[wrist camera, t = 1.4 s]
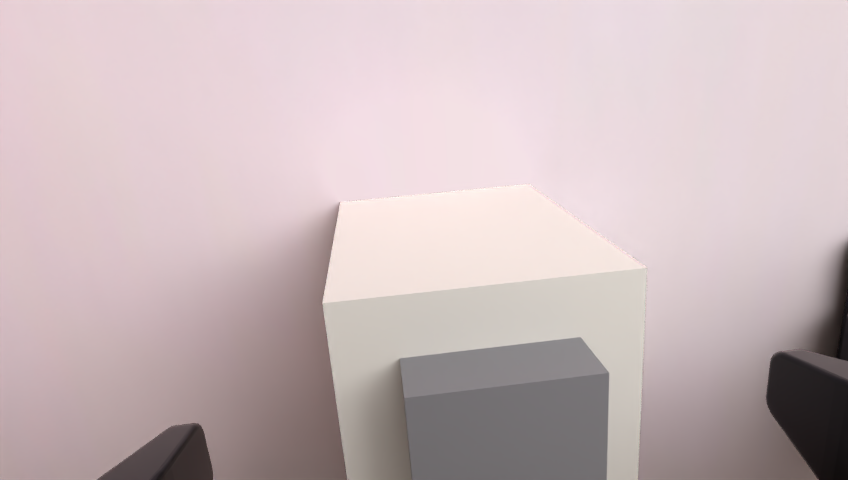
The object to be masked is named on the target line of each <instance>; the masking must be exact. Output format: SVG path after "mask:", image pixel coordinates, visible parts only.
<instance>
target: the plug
mask: <svg viewBox="0 0 848 480" xmlns="http://www.w3.org/2000/svg"><path fill="white" fill-rule="evenodd" d="M646 286H647V267H646V266H644V265H643V264H641V263H640V262H639V261H637V260H636V259H634V258H633V257H631V256H630V255H629V254H627V253H626V252H624V251H623V250H622V249H620V248H619V247H617V246H616V245H615V244H613V243H612V242H610V241H609V240H607V239H606V238H605V237H603V236H602V235H600V234H599V233H598V232H596V231H595V230H593V229H592V228H591V227H589V226H588V225H586V224H585V223H584V222H582V221H581V220H579V219H578V218H576V217H575V216H574V215H572V214H571V213H569V212H568V211H567V210H565V209H564V208H562V207H561V206H560V205H558V204H557V203H555V202H554V201H552V200H551V199H550V198H548V197H547V196H545V195H544V194H543V193H541V192H540V191H538V190H537V189H536V188H534V187H533V186H531V185H530V184H521V185H511V186H501V187H490V188H480V189H470V190H459V191H449V192H439V193H428V194H418V195H408V196H398V197H387V198H377V199H367V200H356V201H346V202H340V206H339V212H338V218H337V223H336V229H335V235H334V240H333V246H332V251H331V257H330V263H329V268H328V274H327V280H326V285H325V291H324V297H323V302H322V305H323V312H324V319H325V326H326V333H327V340H328V347H329V355H330V362H331V369H332V376H333V383H334V390H335V397H336V404H337V411H338V419H339V426H340V433H341V440H342V447H343V454H344V461H345V468H346V475H347V480H638V468H639V446H640V423H641V400H642V377H643V355H644V332H645V309H646Z"/></svg>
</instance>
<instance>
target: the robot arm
mask: <svg viewBox="0 0 848 480" xmlns="http://www.w3.org/2000/svg"><path fill="white" fill-rule="evenodd" d="M766 400H767V405H768V408H769V410H770V412H771V414H772V415H773V417H774V418H775V420H776V421H777V422H778V424H779V425H780V427H781V428H782V429H783V431H784V432H785V433H786V435H787V436H788V438H789V439H790V440H791V442H792V443H793V445H794V446H795V447H796V449H797V450H798V452H799V453H800V454H801V456H802V457H803V459H804V460H805V461H806V463H807V464H808V466H809V467H810V468H811V470H812V471H813V473H814V474H815V475H816V477H817V478H818V480H848V290H847V296H846V302H845V308H844V315H843V321H842V327H841V333H840V340H839V346H838V352H837V358H833V357H830V356H826V355H822V354H818V353H814V352H811V351H807V350H802V349H795V350H787V351H780V352H777V353H775V354H774V355H773V356H772V358H771V361H770V368H769V377H768V385H767V394H766ZM97 480H213V471H212V465H211V461H210V456H209V452H208V448H207V443H206V439H205V434H204V431H203V429H202V427H201V425H199V424H198V423H192V424H183V425H175V426H171V427H169V428H168V429H167V430H165V431H164V432H162V433H161V434H160V435H158V436H157V437H155V438H154V439H153V440H151V441H150V442H149V443H147V444H146V445H144V446H143V447H142V448H140V449H139V450H137V451H136V452H135V453H133V454H132V455H130V456H129V457H128V458H126V459H125V460H124V461H122V462H121V463H119V464H118V465H117V466H115V467H114V468H112V469H111V470H110V471H108V472H107V473H105V474H104V475H103V476H101V477H100V478H99V479H97Z"/></svg>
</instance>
